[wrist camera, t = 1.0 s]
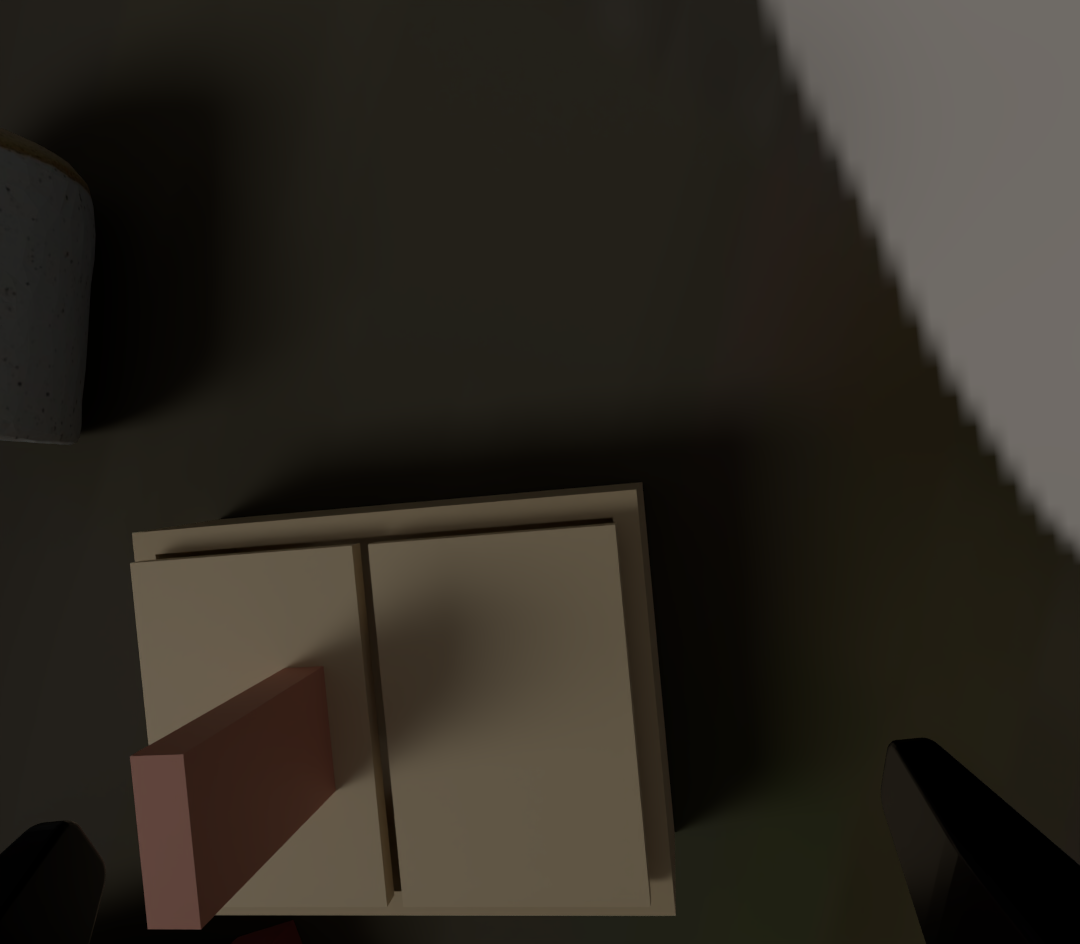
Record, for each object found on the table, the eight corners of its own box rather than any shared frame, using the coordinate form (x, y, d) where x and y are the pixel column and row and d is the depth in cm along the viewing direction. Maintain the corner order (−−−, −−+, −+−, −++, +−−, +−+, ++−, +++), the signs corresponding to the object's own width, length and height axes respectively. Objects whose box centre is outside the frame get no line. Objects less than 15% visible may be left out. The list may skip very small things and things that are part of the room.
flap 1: (394, 895, 19) (272, 1094, 13) (177, 895, 20) (-28, 1081, 14) (359, 543, 19) (221, 585, 13) (143, 560, 20) (-77, 607, 14)
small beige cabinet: (674, 833, 22) (675, 915, 18) (250, 840, 25) (171, 914, 21) (642, 482, 22) (636, 489, 18) (218, 519, 24) (132, 533, 20)
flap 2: (650, 894, 18) (650, 906, 18) (410, 895, 19) (402, 907, 19) (616, 522, 18) (615, 524, 18) (375, 541, 19) (367, 544, 19)
